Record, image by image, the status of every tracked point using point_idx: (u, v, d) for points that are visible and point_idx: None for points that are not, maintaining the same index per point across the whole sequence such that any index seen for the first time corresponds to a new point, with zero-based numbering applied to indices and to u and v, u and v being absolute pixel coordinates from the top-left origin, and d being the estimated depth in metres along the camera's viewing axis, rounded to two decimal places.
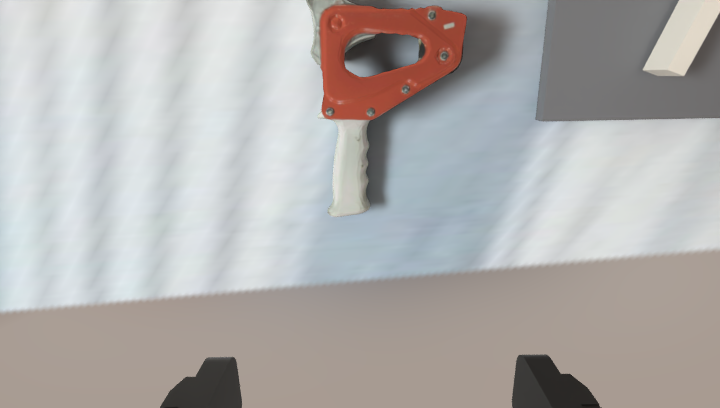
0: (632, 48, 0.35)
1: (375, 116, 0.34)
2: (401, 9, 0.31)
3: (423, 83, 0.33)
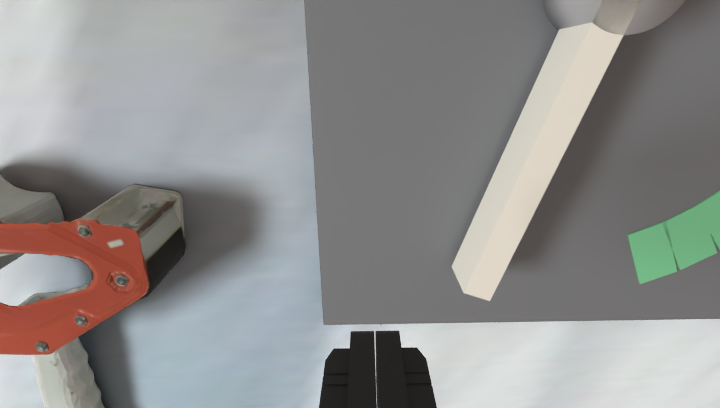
0: (436, 235, 0.24)
1: (50, 351, 0.23)
2: (35, 224, 0.20)
3: (103, 313, 0.22)
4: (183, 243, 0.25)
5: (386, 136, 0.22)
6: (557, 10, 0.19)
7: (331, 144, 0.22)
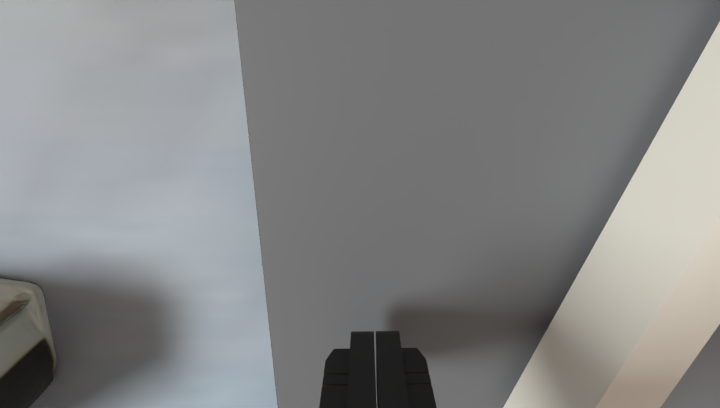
0: (476, 356, 0.14)
1: None
2: None
3: None
4: (47, 366, 0.15)
5: (389, 193, 0.12)
6: None
7: (290, 206, 0.12)
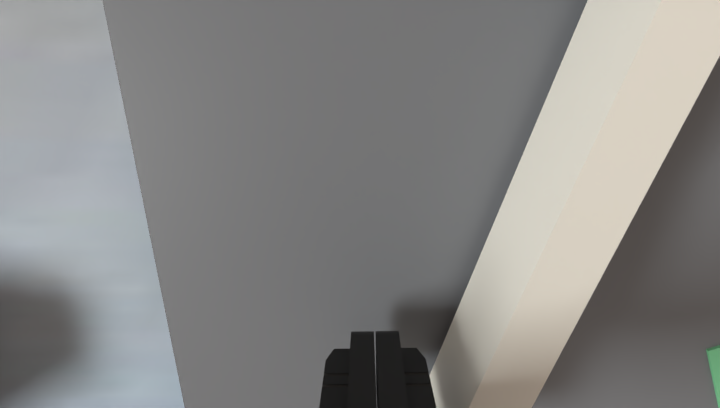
0: None
1: None
2: None
3: None
4: None
5: (272, 185, 0.12)
6: None
7: (176, 199, 0.12)
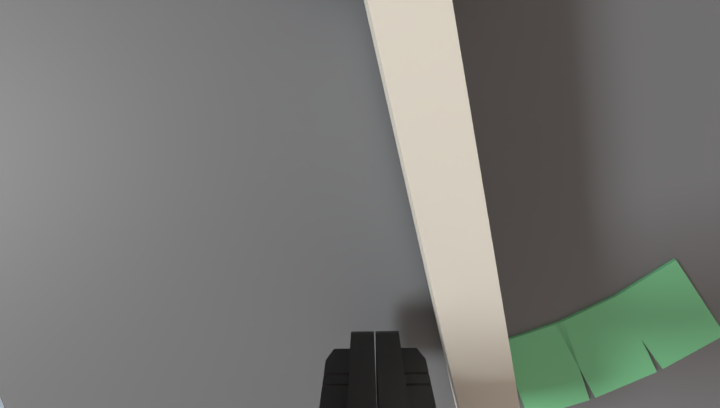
0: (174, 339, 0.14)
1: None
2: None
3: None
4: None
5: (45, 177, 0.12)
6: None
7: None
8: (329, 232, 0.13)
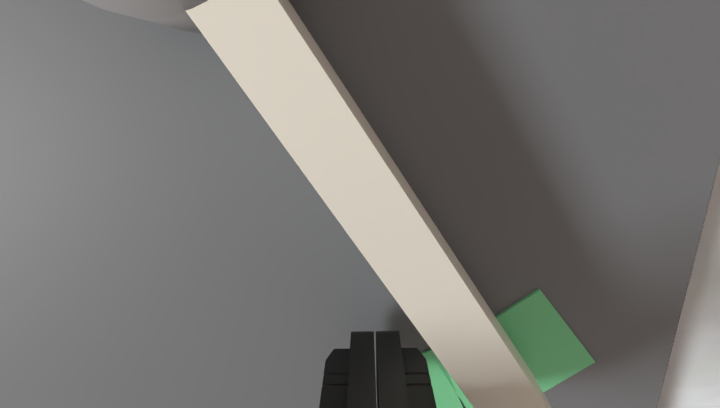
0: (54, 366, 0.14)
1: None
2: None
3: None
4: None
5: None
6: (180, 28, 0.09)
7: None
8: (198, 261, 0.13)
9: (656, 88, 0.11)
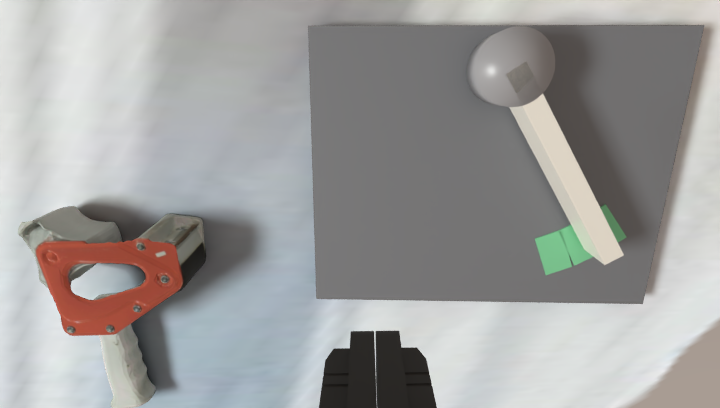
0: (398, 235, 0.33)
1: (116, 332, 0.34)
2: (109, 243, 0.31)
3: (152, 303, 0.32)
4: (204, 254, 0.35)
5: (363, 164, 0.32)
6: (498, 105, 0.29)
7: (325, 168, 0.32)
8: (470, 189, 0.32)
9: (652, 127, 0.31)
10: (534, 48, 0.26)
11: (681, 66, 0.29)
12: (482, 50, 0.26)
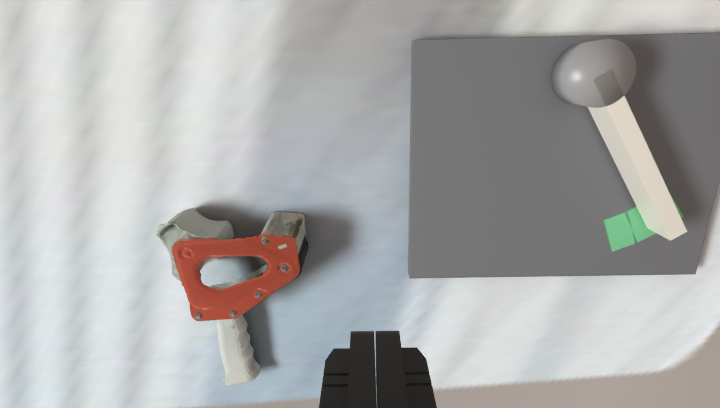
0: (484, 220, 0.38)
1: (238, 316, 0.39)
2: (238, 239, 0.35)
3: (272, 289, 0.37)
4: (307, 245, 0.40)
5: (456, 159, 0.36)
6: (580, 105, 0.33)
7: (422, 164, 0.37)
8: (549, 178, 0.37)
9: (709, 120, 0.35)
10: (619, 57, 0.30)
11: None
12: (574, 60, 0.31)
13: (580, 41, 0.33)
